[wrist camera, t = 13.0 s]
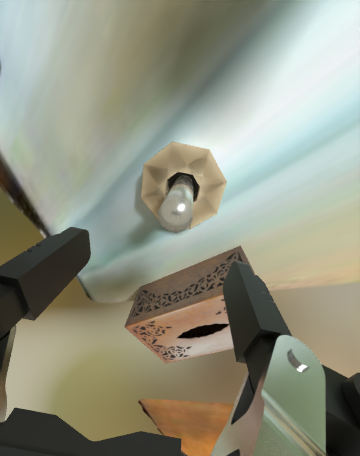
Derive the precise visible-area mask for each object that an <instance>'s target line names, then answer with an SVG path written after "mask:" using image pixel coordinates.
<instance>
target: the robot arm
mask: <svg viewBox="0 0 360 456" xmlns="http://www.w3.org/2000/svg"><path fill="white" fill-rule="evenodd" d="M90 255H91V251H90V240H89V232H88V231H87V230H85V229H80V228H75V227H70V228H68V229H66V230H65V231H63V232H62V233H60V234H57V235H54V236H51V237H48V238H45V239H44V240H42V241H41V242H39V243H37V244H36V246H32V247H31V248H29V249H28V250H27V251H24V252H23V253H21V254H20V255H18V256H16V257H14V258H13V259H11V260H10V261H8V262H6V263H5V264H3V265H1V266H0V456H187V455H186V454H185V453H183V452H182V451H181V439H179V438H174V437H169V436H163V435H158V434H153V433H147V432H141V431H140V432H136V433H132V434H127V435H123V436H118V437H114V438H110V439H105V440H101V441H95V442H94V441H90V440H88V439H87V438H85V437H84V436H83V435H82V434H80V433H79V432H78V431H76V430H75V429H74V428H72V427H71V426H70V425H68V424H67V423H66V422H64V421H63V420H62V419H60V418H59V417H58V416H56V415H51V414H47V413H41V412H35V411H31V410H25V409H19V408H14V410H13V411H12V413H11V414H10V415H9V417H8V418H7V420H6V421H5V416H6V409H7V396H6V391H5V382H6V376H7V371H8V367H9V362H10V357H11V352H12V347H13V342H14V338H15V333H16V324H17V322H18V321H20V320H21V319H22V318H24V319H29V320H35V319H36V318H37V317H38V316H39V315H40V314H41V313H42V312H43V311H44V310H45V309H46V308H47V306H48V305H49V304H50V303H51V302H52V301H53V300H54V299H55V298H56V297H57V296H58V295H59V293H60V292H61V291H62V290H63V289H64V288H65V287H66V286H67V285H68V283H70V281H71V280H72V279H73V278H74V277H75V276H76V275H77V274H78V273H79V272H80V271H81V270H82V269H83V267H84V266H85V265H86V264H87V263H88V261H89V259H90ZM223 295H224V300H225V305H226V311H227V316H228V321H229V326H230V331H231V336H232V341H233V346H234V351H235V356H236V361H237V362H241V363H246V364H247V368H248V373H247V374H246V376H245V379H244V381H243V384H242V386H241V389H240V391H239V394H238V396H237V399H236V402H235V404H234V406H233V409H232V412H231V414H230V417H229V419H228V422H227V424H226V426H225V428H224V430H223V432H222V433H221V435H220V437H219V438H218V440H217V442H216V444H215V446H214V448H213V451H212V453H211V455H210V456H360V373H356V374H355V375H353V376H351V377H350V378H347V377H345V376H343V375H341V374H339V373H337V372H335V371H333V370H332V369H330V368H327V367H326V366H324V365H322V364H321V363H320V361H319V360H318V359H317V357H316V356H315V355H314V353H313V352H312V351H311V350H310V349H309V348H308V347H307V346H306V345H305V344H303V343H302V342H301V341H299V340H298V339H296V338H294V337H292V335H291V333H290V331H289V329H288V327H287V325H286V323H285V322H284V320H283V318H282V316H281V314H280V312H279V310H278V308H277V306H276V304H275V303H274V300H273V298H272V296H271V295H270V293H269V290H268V289H267V287H266V285H265V283H264V282H263V281H262V280H261V279H260V278H259V277H258V276H257V275H254V273H253V271H252V269H251V267H250V265H249V264H246V263H242V262H237V261H234V262H233V263H232V264H231V267H230V269H229V271H228V273H227V275H226V278H225V280H224V283H223Z"/></svg>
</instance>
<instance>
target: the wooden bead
mask: <svg viewBox="0 0 360 456" xmlns="http://www.w3.org/2000/svg"><path fill="white" fill-rule="evenodd" d="M177 172H182V173H187V174H192V175H193V176H194V178H195V179H196V181H197V183H198V184H199V186H198V190H197V194H196V195H194V196H193V219H192V222H191V224H190V226H189V227H188V228H187V229H191V228H192V227H194V226H196V225H198V224H200V223H201V222H203V221H205V220H207V219H209V218H210V217H212V216H214V215H216V214H217V211H218V208H219V205H220V202H221V199H222V196H223V193H224V189H225V186H226V183H227V181H226V179H225V178H224V176H223V174H222V172H221V170H220V168H219V167H218V165H217V163H216V161H215V159H214V157H213V155H212V154H211V152H210V150H209V149H204V148H200V147H195V146H190V145H186V144H181V143H176V142H171V143H170V144H169V145H167V146H166V147H165V148H164V149H162V150H161V151H160V152H159V153H157V154H156V155H155V156H154V157H152V158H151V159H150V160H149V161H147V162H146V163H145V164H144V166H143V179H142V192H141V199H142V200H143V201H144V203H145V204H146V205H147V206H148V208H149V209H150V210H151V212H152V213H153V214H154V215H155V217H156V218H157V219H158V211H159V209H160V207H161V205H162V203H163V202H164V200H165V198H166V196H167V195H168V193H169V191H170V190H169V188H168V187H169V181H170V177H171V176H173V175H174V174H176V173H177ZM158 221H159V219H158Z"/></svg>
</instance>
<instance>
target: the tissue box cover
mask: <svg viewBox="0 0 360 456" xmlns="http://www.w3.org/2000/svg"><path fill="white" fill-rule="evenodd" d="M234 261H237V262H242V263H246V264H249V265H250V263H249V261H248V259H247V257H246V255H245V253H244V251H243V249H242V248H241V246H239V247H236V248H234V249H232V250H229V251H227V252H224V253H222V254H219V255H217V256H215V257H212V258H210V259H207V260H205V261H202V262H200V263H198V264H195V265H193V266H190V267H188V268H185V269H183V270H181V271H178V272H176V273H173V274H171V275H169V276H166V277H164V278H161V279H159V280H156V281H154V282H152V283H149V284H147V285H144V286H142V287H140V289H139V291H138V294H137V296H136V299H135V301H134V304H133V306H132V309H131V311H130V314H129V317H128V319H127V322H126V324H125V328H126V329H128V330H129V331H130V332H131V333H132V334H133V335H134V336H136V337H137V338H138V339H139V340H140V341H141V342H142V343H143V344H144V345H145V346H147V347H148V348H149V349H150V350H151V351H152V352H154V354H156V355H157V356H158V357H159V358H160V359H161V360H163V362H165V363H169V362H174V361H179V360H183V359H187V358H193V357H197V356H202V355H206V354H211V353H216V352H220V351H225V350H229V349H234V346H233V341H232V336H231V331H230V326H229V321H228V316H227V311H226V305H225V300H224V295H223V283H224V280H225V278H226V275H227V273H228V271H229V269H230V267H231V264H232V263H233V262H234ZM250 267H251V265H250ZM251 269H252V267H251ZM252 271H253V269H252ZM253 273H254V271H253ZM254 275H255V273H254Z"/></svg>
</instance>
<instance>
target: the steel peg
mask: <svg viewBox="0 0 360 456" xmlns="http://www.w3.org/2000/svg"><path fill="white" fill-rule="evenodd" d="M158 219H159V222H160V223H161V225H162V226H163V227H164V228H165V229H167V230H169V231H172V232H180V231H183V230H185V229H187V228H188V227H189V226H190V224H191V222H192V219H193V181H192V179H191V178H190V177H188V176H180V177H178V178H177V180H176V181H175V183H174V185H173V186H172V188H171V190H170V191H169V193H168V195H167V196H166V198H165V200H164V202H163V203H162V205H161V207H160V209H159V211H158Z"/></svg>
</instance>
